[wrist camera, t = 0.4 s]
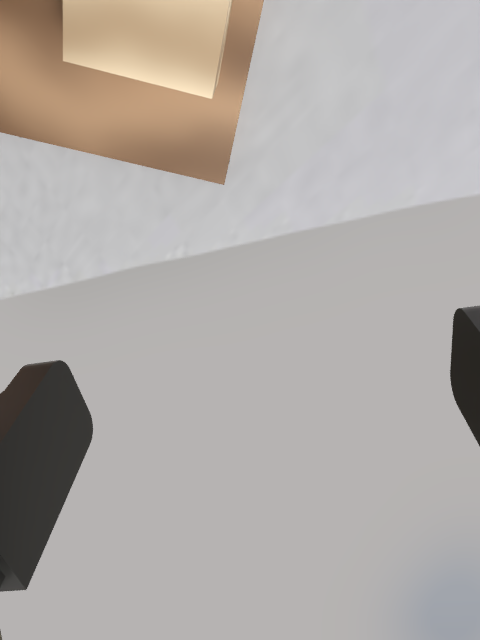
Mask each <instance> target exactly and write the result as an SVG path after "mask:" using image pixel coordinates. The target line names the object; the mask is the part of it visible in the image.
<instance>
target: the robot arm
mask: <svg viewBox="0 0 480 640" xmlns="http://www.w3.org/2000/svg"><path fill="white" fill-rule="evenodd" d="M453 320H454V321H453V335H452V353H451V370H450V377H451V386H452V391H453V395H454V398H455V401H456V403H457V405H458V407H459V409H460V411H461V413H462V415H463V416H464V418H465V420H466V422H467V424H468V426H469V427H470V429H471V431H472V433H473V435H474V437H475V438H476V440H477V442H478V444H479V446H480V306H474V307H467V308H459V309H457V310H456V312H455V314H454V319H453ZM92 434H93V424H92V418H91V415H90V412H89V410H88V408H87V405H86V403H85V401H84V399H83V397H82V395H81V392H80V390H79V388H78V386H77V384H76V381H75V379H74V377H73V375H72V373H71V371H70V369H69V367H68V365H67V364H66V363H65V362H63V361H60V360H59V361H51V362H43V363H35V364H28V365H25V366H23V367H22V368H21V369H20V371H19V372H18V373H17V375H16V376H15V377H14V379H13V380H12V381H11V383H10V384H9V385H8V387H7V388H6V389H5V391H3V392H2V393H1V394H0V591H14V590H26V589H27V587H28V585H29V582H30V580H31V578H32V576H33V573H34V571H35V569H36V566H37V564H38V562H39V560H40V557H41V555H42V552H43V550H44V548H45V546H46V544H47V541H48V539H49V537H50V534H51V532H52V530H53V528H54V525H55V523H56V521H57V518H58V515H59V514H60V512H61V509H62V507H63V505H64V502H65V500H66V498H67V495H68V493H69V491H70V488H71V486H72V484H73V482H74V480H75V477H76V475H77V473H78V470H79V468H80V466H81V463H82V461H83V459H84V456H85V454H86V452H87V450H88V447H89V445H90V443H91V440H92ZM0 640H2V637H1V631H0Z"/></svg>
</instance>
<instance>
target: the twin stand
mask: <svg viewBox="0 0 480 640" xmlns="http://www.w3.org/2000/svg"><path fill="white" fill-rule="evenodd" d="M263 1H264V0H0V132H2V133H6V134H10V135H15V136H19V137H23V138H27V139H32V140H36V141H40V142H44V143H49V144H53V145H57V146H61V147H66V148H70V149H74V150H78V151H83V152H87V153H91V154H95V155H100V156H104V157H108V158H112V159H117V160H121V161H125V162H129V163H134V164H138V165H142V166H146V167H151V168H155V169H159V170H163V171H168V172H172V173H176V174H180V175H185V176H189V177H193V178H197V179H202V180H206V181H210V182H214V183H219V184H223V185H224V183H225V178H226V173H227V169H228V164H229V159H230V155H231V150H232V146H233V141H234V136H235V132H236V127H237V122H238V118H239V113H240V108H241V104H242V99H243V94H244V90H245V85H246V80H247V76H248V71H249V67H250V62H251V57H252V53H253V48H254V43H255V39H256V34H257V29H258V25H259V20H260V15H261V11H262V6H263Z"/></svg>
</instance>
